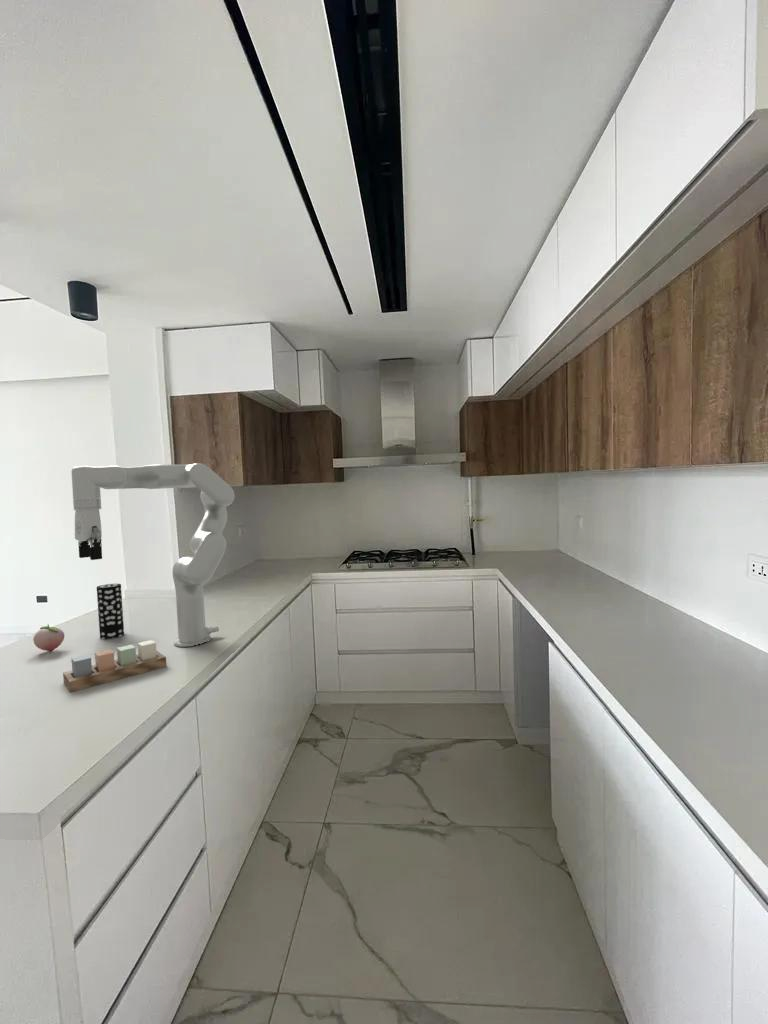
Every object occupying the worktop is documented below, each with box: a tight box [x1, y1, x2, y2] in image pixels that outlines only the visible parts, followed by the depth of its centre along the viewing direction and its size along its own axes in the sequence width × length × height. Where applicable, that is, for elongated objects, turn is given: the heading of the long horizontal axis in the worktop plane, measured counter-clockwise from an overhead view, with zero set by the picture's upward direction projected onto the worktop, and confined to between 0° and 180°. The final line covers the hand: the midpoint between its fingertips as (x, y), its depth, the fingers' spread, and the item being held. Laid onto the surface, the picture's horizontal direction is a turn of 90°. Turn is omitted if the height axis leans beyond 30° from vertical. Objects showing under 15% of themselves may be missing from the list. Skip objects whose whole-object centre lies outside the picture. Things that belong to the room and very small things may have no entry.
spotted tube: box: [96, 583, 125, 640], centre depth 186 cm, size 8×8×20 cm
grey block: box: [70, 654, 92, 678], centre depth 140 cm, size 4×4×5 cm
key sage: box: [116, 644, 137, 666], centre depth 148 cm, size 4×4×5 cm
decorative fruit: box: [32, 623, 65, 652], centre depth 169 cm, size 9×8×10 cm
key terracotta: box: [94, 649, 115, 672], centre depth 144 cm, size 4×4×5 cm
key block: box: [62, 649, 168, 693], centre depth 146 cm, size 26×10×3 cm, turn 133°
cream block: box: [137, 639, 157, 661], centre depth 152 cm, size 4×4×5 cm
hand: (90, 558), depth 152 cm, fingers open, 9 cm apart
